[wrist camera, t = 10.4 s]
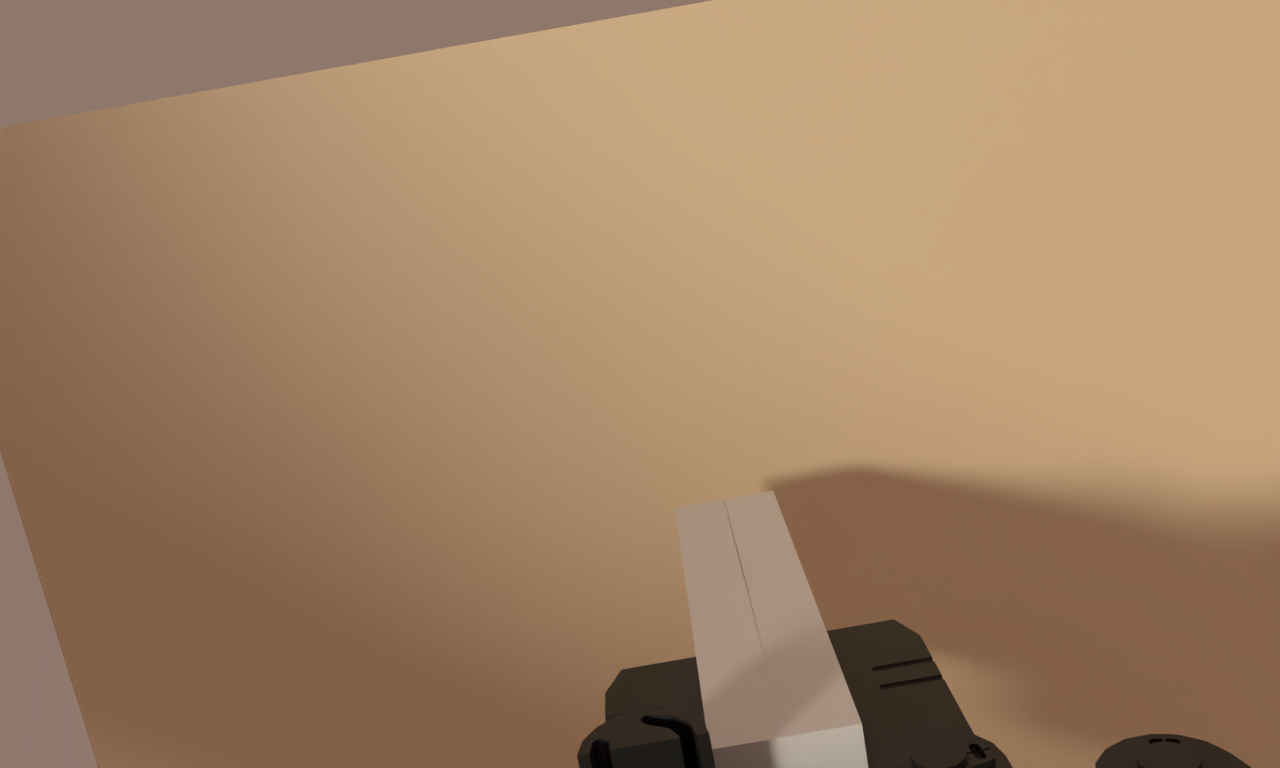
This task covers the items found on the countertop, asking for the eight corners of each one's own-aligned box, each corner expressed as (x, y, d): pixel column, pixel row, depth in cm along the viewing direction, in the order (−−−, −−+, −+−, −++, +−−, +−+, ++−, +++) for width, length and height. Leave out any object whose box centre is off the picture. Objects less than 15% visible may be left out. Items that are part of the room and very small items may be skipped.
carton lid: (1344, -113, 18) (1313, -104, 18) (-95, 144, 18) (-65, 143, 19) (1377, 926, 22) (1351, 897, 22) (203, 1107, 22) (217, 1073, 23)
